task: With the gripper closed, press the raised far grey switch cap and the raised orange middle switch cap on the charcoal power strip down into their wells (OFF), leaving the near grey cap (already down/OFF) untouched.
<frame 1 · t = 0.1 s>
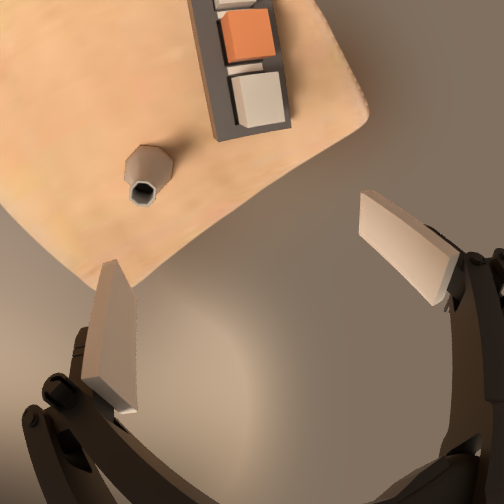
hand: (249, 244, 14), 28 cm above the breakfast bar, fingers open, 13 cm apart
flask: (148, 169, 36), on the breakfast bar
power strip: (233, 45, 30), on the breakfast bar
switch c: (257, 98, 28), point 7 cm above the breakfast bar, slide at 3.0 cm
switch b: (247, 35, 24), point 7 cm above the breakfast bar, slide at 3.0 cm
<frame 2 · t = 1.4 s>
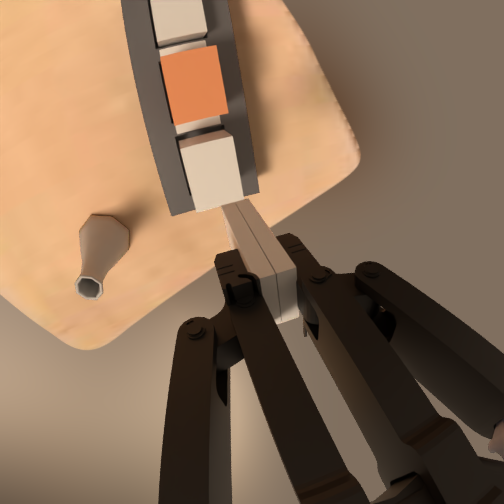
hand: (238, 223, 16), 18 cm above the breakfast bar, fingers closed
flask: (104, 238, 32), on the breakfast bar
power strip: (187, 87, 26), on the breakfast bar
switch c: (210, 169, 25), point 7 cm above the breakfast bar, slide at 3.0 cm
switch b: (192, 85, 20), point 7 cm above the breakfast bar, slide at 3.0 cm
switch a: (176, 14, 18), point 4 cm above the breakfast bar, slide at 0.0 cm
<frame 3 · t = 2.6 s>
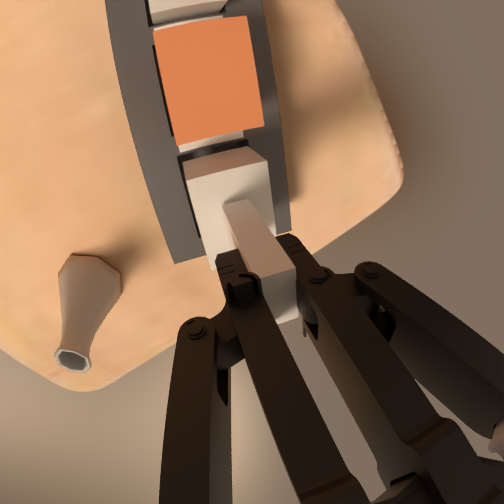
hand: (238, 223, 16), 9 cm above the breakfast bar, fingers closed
flask: (90, 281, 25), on the breakfast bar
power strip: (194, 83, 18), on the breakfast bar
switch c: (229, 205, 17), point 7 cm above the breakfast bar, slide at 2.6 cm, touching gripper
switch b: (205, 78, 12), point 7 cm above the breakfast bar, slide at 3.0 cm
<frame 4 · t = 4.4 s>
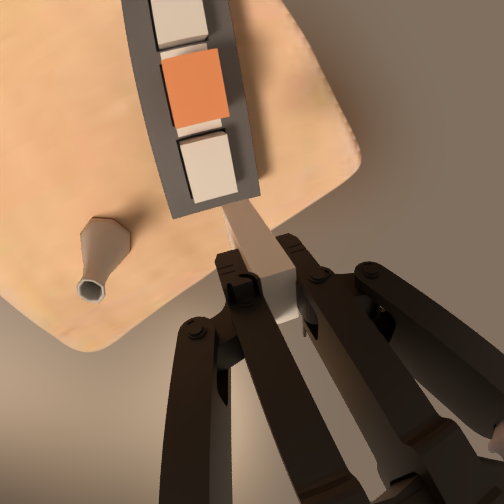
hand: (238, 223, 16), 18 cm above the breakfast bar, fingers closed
flask: (105, 241, 33), on the breakfast bar
power strip: (188, 89, 26), on the breakfast bar
switch c: (207, 164, 27), point 4 cm above the breakfast bar, slide at 0.0 cm
switch b: (193, 88, 20), point 7 cm above the breakfast bar, slide at 3.0 cm
switch a: (177, 16, 18), point 4 cm above the breakfast bar, slide at 0.0 cm
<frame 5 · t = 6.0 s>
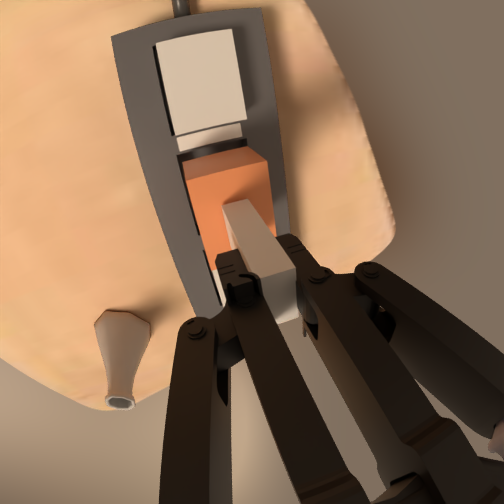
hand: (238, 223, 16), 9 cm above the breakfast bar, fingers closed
flask: (122, 329, 30), on the breakfast bar
power strip: (212, 173, 23), on the breakfast bar
switch c: (239, 274, 24), point 4 cm above the breakfast bar, slide at 0.0 cm
switch b: (229, 205, 17), point 7 cm above the breakfast bar, slide at 2.9 cm, touching gripper
switch a: (199, 81, 15), point 4 cm above the breakfast bar, slide at 0.0 cm
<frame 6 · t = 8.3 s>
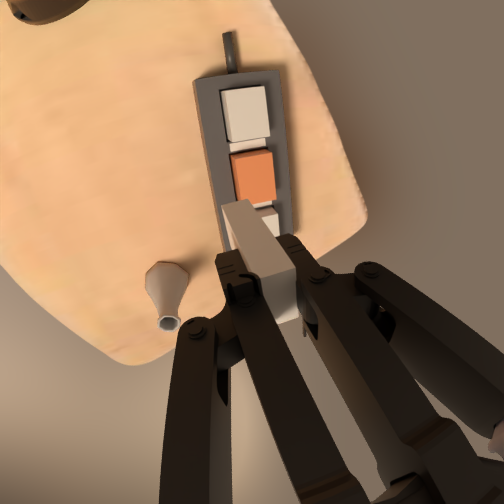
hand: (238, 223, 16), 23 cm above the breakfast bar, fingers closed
flask: (166, 279, 43), on the breakfast bar
power strip: (244, 167, 37), on the breakfast bar
switch c: (259, 231, 38), point 4 cm above the breakfast bar, slide at 0.0 cm
switch b: (252, 175, 34), point 4 cm above the breakfast bar, slide at 0.0 cm
switch a: (243, 112, 30), point 4 cm above the breakfast bar, slide at 0.0 cm
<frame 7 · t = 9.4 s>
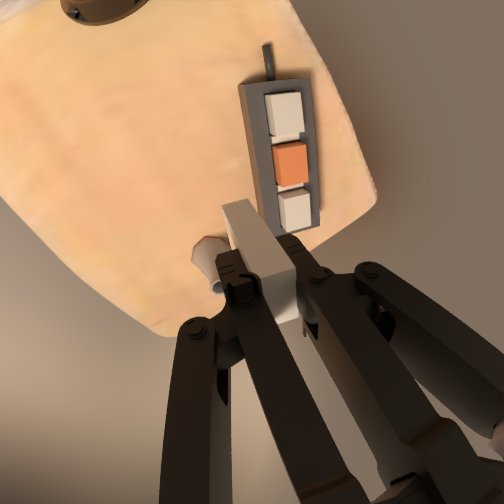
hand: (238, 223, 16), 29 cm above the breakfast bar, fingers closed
flask: (210, 252, 51), on the breakfast bar
power strip: (279, 156, 45), on the breakfast bar
switch c: (293, 208, 46), point 4 cm above the breakfast bar, slide at 0.0 cm
switch b: (288, 162, 41), point 4 cm above the breakfast bar, slide at 0.0 cm
switch a: (283, 112, 37), point 4 cm above the breakfast bar, slide at 0.0 cm
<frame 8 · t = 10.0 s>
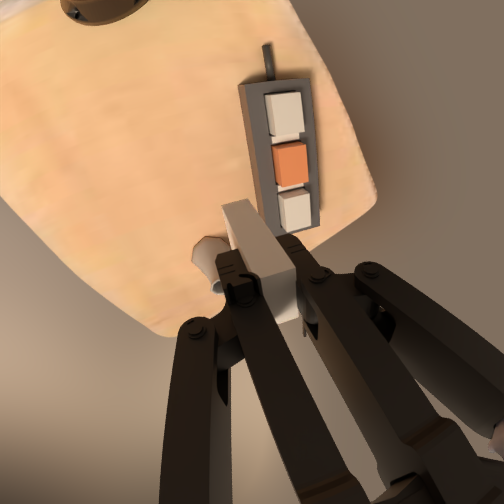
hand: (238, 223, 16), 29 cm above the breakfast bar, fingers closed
flask: (210, 252, 51), on the breakfast bar
power strip: (279, 156, 45), on the breakfast bar
switch c: (293, 208, 46), point 4 cm above the breakfast bar, slide at 0.0 cm
switch b: (288, 162, 41), point 4 cm above the breakfast bar, slide at 0.0 cm
switch a: (283, 112, 37), point 4 cm above the breakfast bar, slide at 0.0 cm
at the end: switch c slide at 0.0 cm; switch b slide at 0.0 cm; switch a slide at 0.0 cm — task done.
